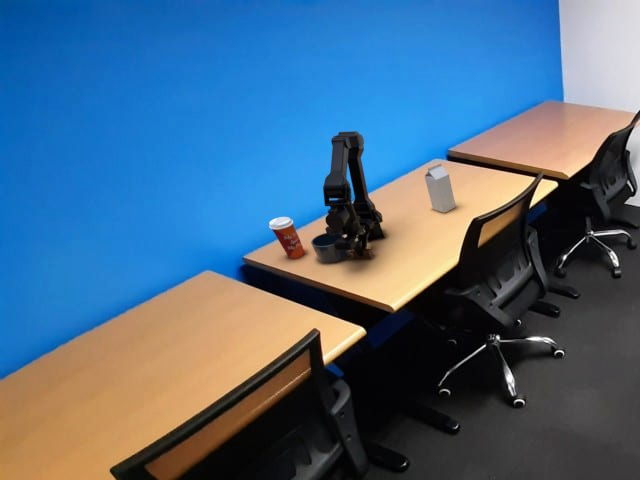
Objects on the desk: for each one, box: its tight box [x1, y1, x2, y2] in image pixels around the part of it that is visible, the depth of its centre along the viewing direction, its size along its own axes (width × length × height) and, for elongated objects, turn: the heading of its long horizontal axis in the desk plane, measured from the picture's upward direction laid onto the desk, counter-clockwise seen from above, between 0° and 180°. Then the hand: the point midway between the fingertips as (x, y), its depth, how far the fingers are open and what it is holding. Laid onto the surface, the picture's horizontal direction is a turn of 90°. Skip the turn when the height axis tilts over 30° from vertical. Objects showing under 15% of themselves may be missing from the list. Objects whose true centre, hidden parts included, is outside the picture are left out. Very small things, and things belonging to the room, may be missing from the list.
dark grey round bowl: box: [310, 232, 351, 264], centre depth 173 cm, size 11×11×7 cm
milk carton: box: [424, 162, 457, 214], centre depth 199 cm, size 7×7×19 cm
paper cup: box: [268, 216, 306, 259], centre depth 172 cm, size 8×8×14 cm
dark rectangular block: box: [350, 247, 374, 259], centre depth 174 cm, size 7×2×3 cm, turn 85°
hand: (362, 254), depth 174 cm, fingers closed on dark rectangular block, 2 cm apart
